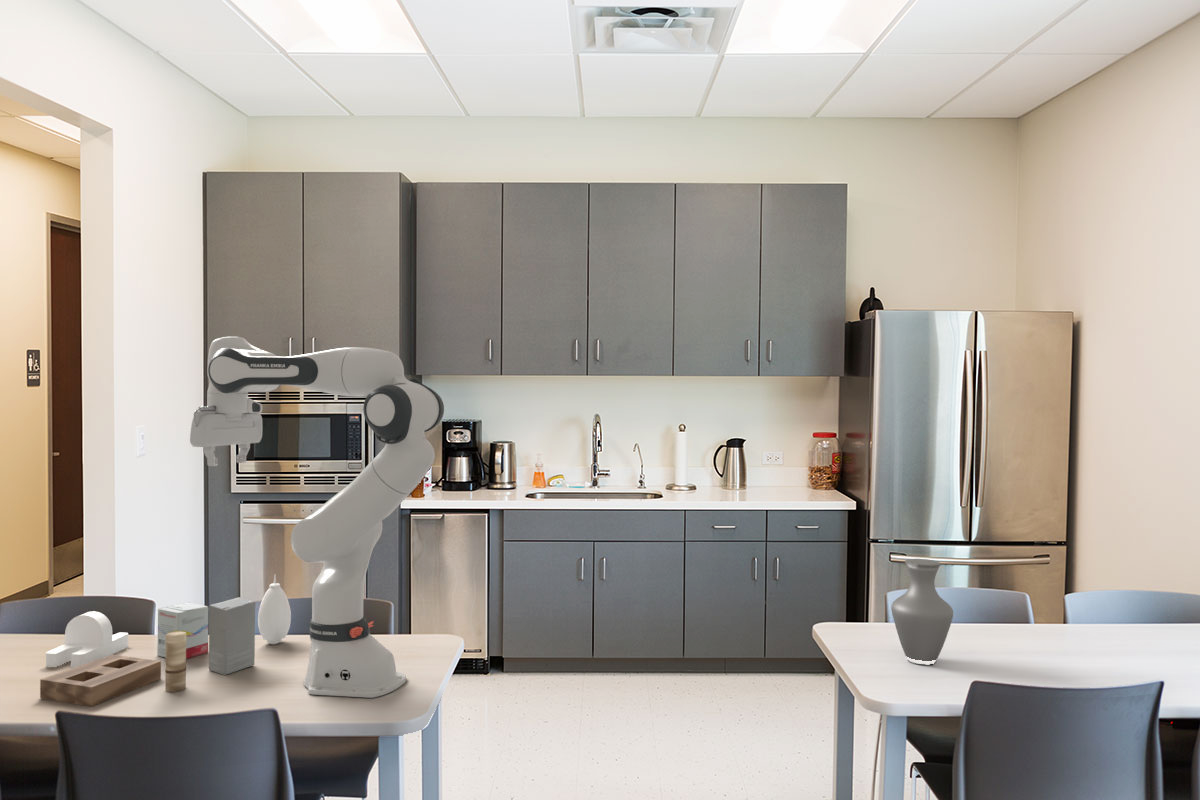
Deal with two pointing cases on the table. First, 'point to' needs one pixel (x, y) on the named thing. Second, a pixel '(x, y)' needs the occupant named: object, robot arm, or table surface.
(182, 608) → the ink box
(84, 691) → the board
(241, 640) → the skincare box
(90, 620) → the white slotted holder
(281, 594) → the white bulb air blower
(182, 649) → the dowel
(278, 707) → the table surface
